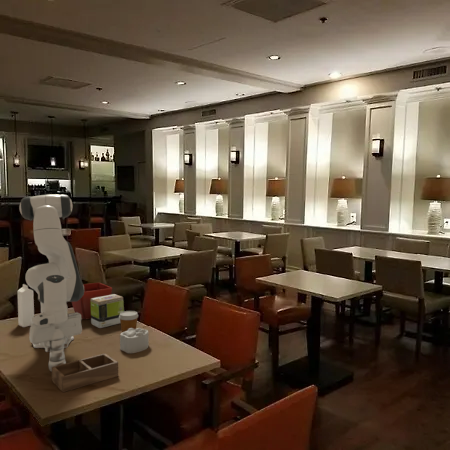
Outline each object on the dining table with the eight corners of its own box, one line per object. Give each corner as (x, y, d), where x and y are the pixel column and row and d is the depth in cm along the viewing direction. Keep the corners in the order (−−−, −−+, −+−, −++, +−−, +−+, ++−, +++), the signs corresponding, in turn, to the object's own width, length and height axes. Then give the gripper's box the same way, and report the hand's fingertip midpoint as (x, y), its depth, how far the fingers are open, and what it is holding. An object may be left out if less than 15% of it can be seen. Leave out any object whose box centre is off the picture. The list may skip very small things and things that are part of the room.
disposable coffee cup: (132, 341, 213) (132, 317, 212) (115, 338, 217) (115, 315, 215) (142, 334, 222) (141, 311, 221) (125, 332, 226) (125, 309, 224)
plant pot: (99, 308, 268) (98, 281, 266) (113, 316, 253) (112, 287, 252) (68, 314, 255) (67, 286, 254) (81, 322, 241) (80, 292, 239)
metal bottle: (51, 367, 182) (49, 320, 180) (68, 367, 182) (66, 320, 180) (46, 374, 175) (44, 325, 173) (63, 373, 176) (62, 325, 174)
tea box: (115, 318, 249) (115, 293, 247) (124, 323, 241) (124, 296, 240) (90, 324, 238) (90, 297, 237) (99, 328, 231) (98, 301, 230)
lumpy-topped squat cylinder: (117, 348, 204) (117, 330, 203) (141, 341, 213) (140, 324, 212) (129, 354, 197) (129, 335, 196) (153, 347, 206) (153, 329, 205)
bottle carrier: (51, 381, 169) (51, 367, 169) (105, 366, 184) (104, 353, 183) (63, 392, 160) (62, 377, 160) (118, 375, 175) (118, 362, 174)
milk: (23, 327, 232) (21, 286, 230) (18, 324, 236) (16, 284, 234) (34, 324, 236) (33, 284, 234) (29, 322, 240) (28, 282, 238)
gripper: (78, 309, 186) (78, 341, 187) (27, 318, 172) (28, 352, 174) (84, 313, 181) (84, 345, 182) (32, 322, 168) (33, 357, 169)
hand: (56, 349), depth 178 cm, fingers closed on metal bottle, 6 cm apart
